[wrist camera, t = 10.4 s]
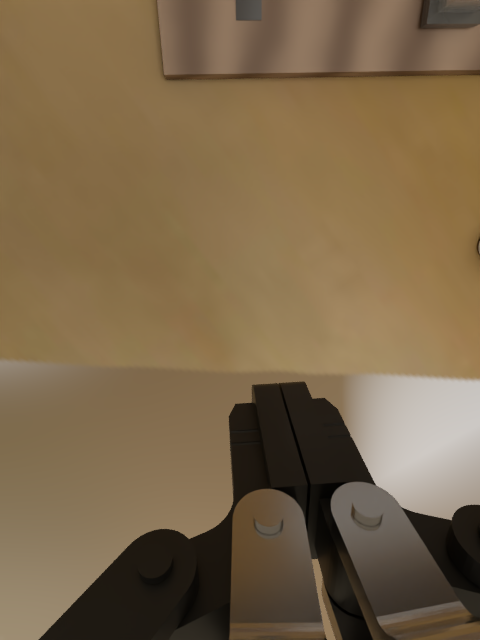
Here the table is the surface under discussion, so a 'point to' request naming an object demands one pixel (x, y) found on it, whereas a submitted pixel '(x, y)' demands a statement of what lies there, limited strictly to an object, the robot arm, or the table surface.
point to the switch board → (309, 40)
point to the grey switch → (450, 14)
